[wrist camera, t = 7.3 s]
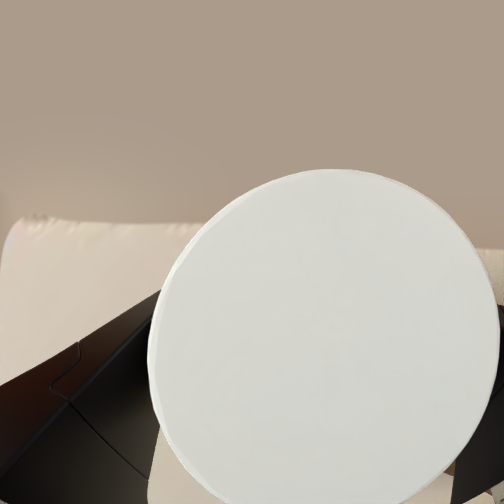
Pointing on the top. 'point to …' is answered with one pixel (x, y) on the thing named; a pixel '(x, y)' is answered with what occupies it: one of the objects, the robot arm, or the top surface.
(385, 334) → the supplement bottle
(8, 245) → the top surface
